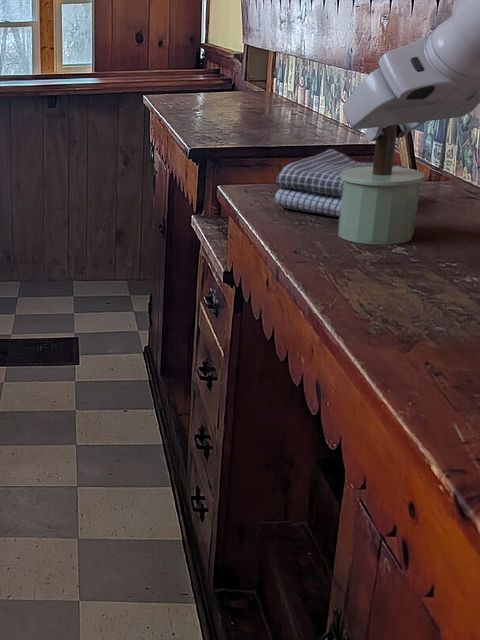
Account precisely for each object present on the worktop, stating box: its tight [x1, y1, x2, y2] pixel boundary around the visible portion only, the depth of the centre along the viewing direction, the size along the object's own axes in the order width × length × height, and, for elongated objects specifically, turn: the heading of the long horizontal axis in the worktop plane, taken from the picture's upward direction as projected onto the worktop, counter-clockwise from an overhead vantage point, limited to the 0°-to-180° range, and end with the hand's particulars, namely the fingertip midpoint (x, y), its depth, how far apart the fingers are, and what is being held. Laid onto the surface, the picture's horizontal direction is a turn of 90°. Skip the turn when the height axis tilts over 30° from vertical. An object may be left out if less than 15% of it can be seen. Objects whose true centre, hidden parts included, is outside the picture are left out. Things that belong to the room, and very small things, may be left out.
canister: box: [337, 180, 422, 246], centre depth 126 cm, size 10×10×8 cm
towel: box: [273, 148, 407, 218], centre depth 143 cm, size 15×18×8 cm
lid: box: [340, 125, 426, 186], centre depth 123 cm, size 11×11×9 cm
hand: (383, 135), depth 122 cm, fingers open, 3 cm apart
